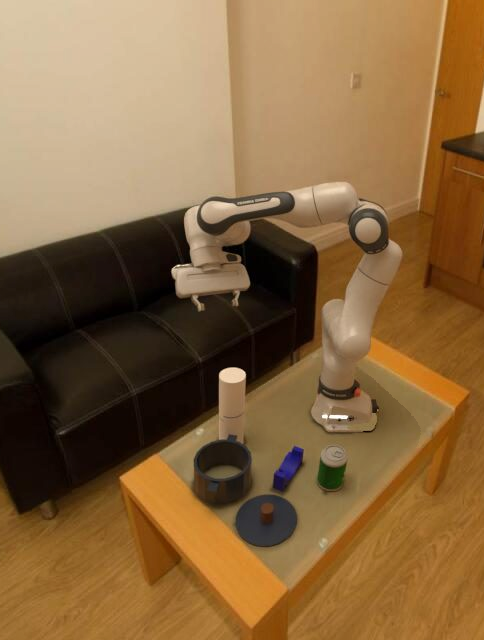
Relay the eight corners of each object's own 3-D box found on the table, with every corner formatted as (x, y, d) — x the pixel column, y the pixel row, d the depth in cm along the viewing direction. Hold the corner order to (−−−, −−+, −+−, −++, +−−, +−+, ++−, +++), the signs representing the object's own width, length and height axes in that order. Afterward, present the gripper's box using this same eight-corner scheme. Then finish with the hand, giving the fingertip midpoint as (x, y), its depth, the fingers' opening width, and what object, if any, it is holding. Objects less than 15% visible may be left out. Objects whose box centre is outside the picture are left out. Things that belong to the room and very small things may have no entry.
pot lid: (300, 500, 134) (302, 487, 131) (291, 551, 120) (293, 538, 118) (243, 493, 133) (244, 480, 131) (228, 544, 120) (228, 530, 117)
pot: (257, 460, 144) (258, 436, 139) (240, 518, 126) (241, 492, 122) (207, 454, 143) (206, 429, 138) (182, 511, 126) (181, 485, 121)
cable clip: (288, 458, 146) (290, 443, 143) (302, 464, 145) (303, 449, 142) (267, 487, 136) (268, 471, 133) (282, 493, 135) (283, 478, 132)
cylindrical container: (237, 453, 145) (239, 385, 133) (214, 447, 146) (214, 379, 134) (247, 437, 151) (249, 371, 139) (225, 431, 152) (226, 365, 140)
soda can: (339, 496, 137) (345, 465, 131) (313, 490, 138) (317, 459, 132) (345, 476, 144) (350, 446, 138) (320, 470, 144) (324, 440, 138)
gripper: (171, 261, 132) (182, 310, 130) (245, 255, 143) (256, 300, 141) (168, 269, 137) (178, 316, 135) (240, 263, 148) (250, 307, 146)
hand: (218, 308), depth 138 cm, fingers open, 8 cm apart
